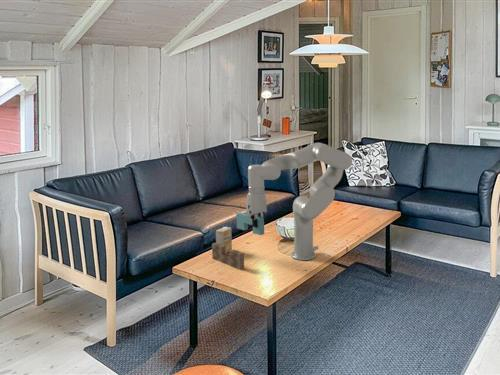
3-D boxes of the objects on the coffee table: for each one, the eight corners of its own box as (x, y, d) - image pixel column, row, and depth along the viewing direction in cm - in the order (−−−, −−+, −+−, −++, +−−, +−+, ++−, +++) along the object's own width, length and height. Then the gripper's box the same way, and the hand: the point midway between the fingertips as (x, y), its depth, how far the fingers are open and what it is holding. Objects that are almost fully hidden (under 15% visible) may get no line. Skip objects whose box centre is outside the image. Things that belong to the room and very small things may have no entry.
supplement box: (223, 255, 264) (223, 231, 261) (216, 254, 266) (215, 230, 263) (232, 250, 271) (231, 227, 268) (225, 249, 273) (224, 226, 270)
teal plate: (236, 228, 260) (236, 213, 259) (240, 227, 262) (239, 212, 260) (260, 235, 247) (260, 219, 245) (264, 234, 249) (263, 218, 247)
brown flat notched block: (212, 258, 260) (211, 243, 258) (216, 257, 261) (215, 242, 260) (240, 269, 244) (239, 254, 242) (244, 268, 245) (243, 252, 244)
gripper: (263, 186, 254) (264, 221, 258) (238, 191, 243) (240, 228, 247) (273, 188, 248) (274, 224, 252) (249, 194, 238) (250, 231, 242)
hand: (257, 226), depth 250 cm, fingers closed on teal plate, 2 cm apart
